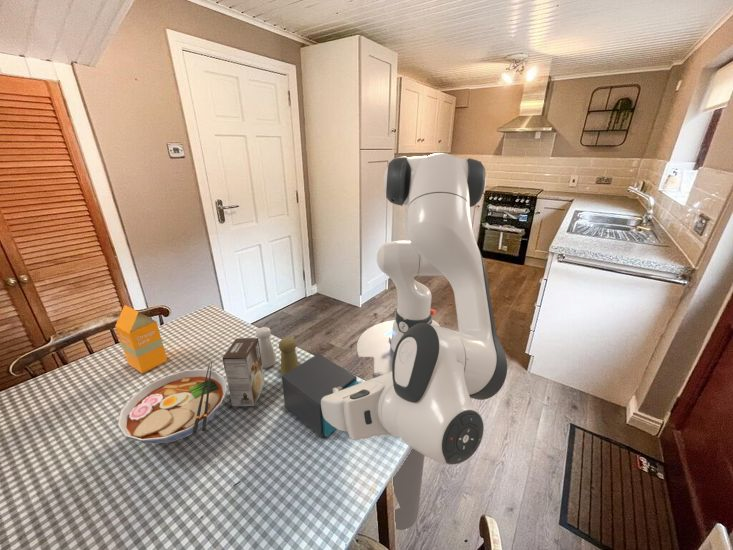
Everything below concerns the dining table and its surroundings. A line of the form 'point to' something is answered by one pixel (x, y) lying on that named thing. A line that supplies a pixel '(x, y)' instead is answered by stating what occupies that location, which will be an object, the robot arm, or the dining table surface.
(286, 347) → the olive pepper shaker
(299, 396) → the grey drawer cabinet
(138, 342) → the orange juice
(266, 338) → the salt shaker
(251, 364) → the coffee box
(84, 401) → the dining table surface
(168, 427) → the ramen bowl
